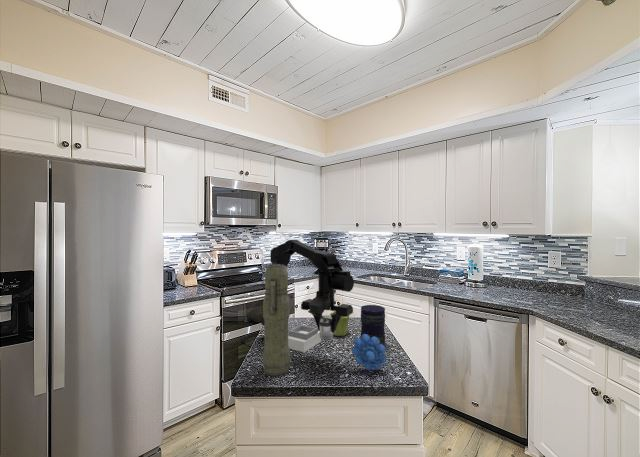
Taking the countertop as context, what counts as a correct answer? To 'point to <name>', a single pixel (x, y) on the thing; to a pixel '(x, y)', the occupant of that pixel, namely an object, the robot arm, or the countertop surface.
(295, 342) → the grey open box
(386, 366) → the countertop surface
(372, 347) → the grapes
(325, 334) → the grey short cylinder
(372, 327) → the storage jar
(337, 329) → the plant pot
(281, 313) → the thermos
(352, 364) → the countertop surface
